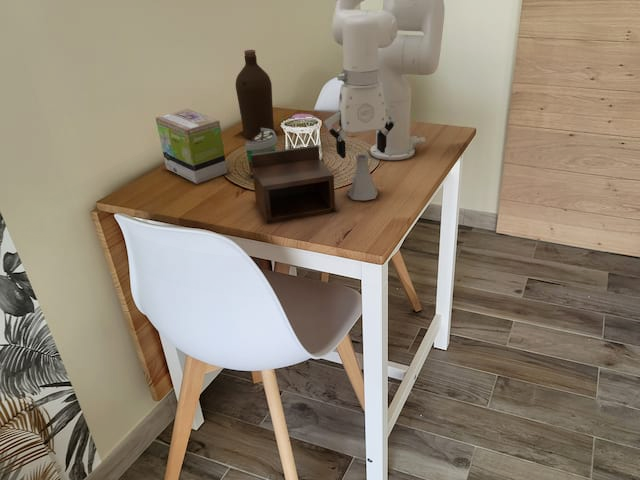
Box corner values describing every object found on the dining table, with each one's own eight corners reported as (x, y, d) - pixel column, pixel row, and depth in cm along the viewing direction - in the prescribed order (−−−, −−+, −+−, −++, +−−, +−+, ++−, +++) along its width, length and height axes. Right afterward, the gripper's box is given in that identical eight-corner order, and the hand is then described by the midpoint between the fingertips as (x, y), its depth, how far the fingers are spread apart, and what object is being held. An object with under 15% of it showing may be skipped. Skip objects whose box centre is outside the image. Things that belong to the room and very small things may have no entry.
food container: (271, 181, 147) (267, 143, 141) (249, 179, 148) (244, 142, 143) (286, 163, 157) (283, 128, 152) (265, 162, 158) (261, 127, 153)
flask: (347, 190, 141) (345, 151, 136) (376, 188, 142) (376, 150, 136) (349, 202, 135) (347, 162, 130) (379, 200, 136) (379, 160, 130)
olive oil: (276, 139, 174) (268, 53, 161) (241, 141, 173) (230, 55, 160) (275, 128, 183) (267, 46, 170) (242, 130, 182) (231, 48, 169)
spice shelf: (320, 191, 141) (317, 144, 134) (335, 211, 131) (333, 162, 125) (256, 202, 136) (250, 154, 130) (266, 223, 126) (261, 172, 120)
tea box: (165, 170, 154) (153, 116, 146) (197, 160, 160) (187, 107, 152) (196, 185, 145) (186, 128, 138) (228, 173, 152) (220, 118, 144)
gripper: (328, 84, 118) (331, 163, 127) (404, 77, 123) (402, 154, 132) (317, 77, 124) (321, 153, 133) (391, 71, 129) (389, 144, 138)
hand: (361, 153), depth 132 cm, fingers open, 9 cm apart
